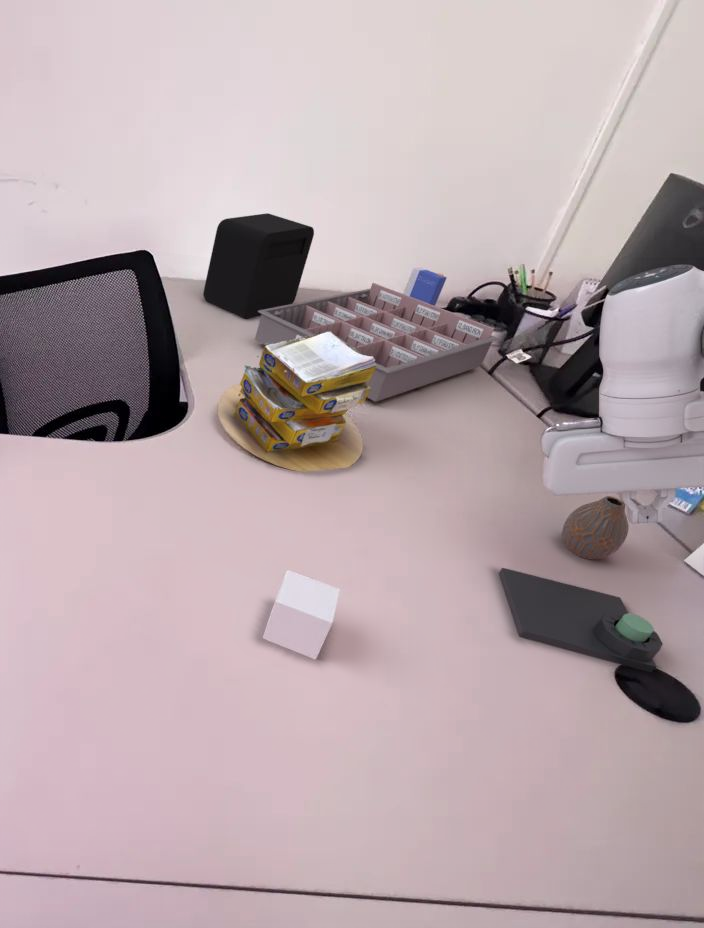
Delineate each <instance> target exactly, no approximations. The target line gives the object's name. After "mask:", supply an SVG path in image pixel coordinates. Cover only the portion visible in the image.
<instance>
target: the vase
mask: <svg viewBox="0 0 704 928" xmlns="http://www.w3.org/2000/svg"><path fill="white" fill-rule="evenodd" d="M629 527H630V526H629V520H628V517H627V514H626V505H625V504H624V502H623V501H622V500H621V499H620V498H619V497H618V498H617V497H615V496H611V495H606V496H604V497H602V498H600V499H599V500H595V501H592V502H588V503H585V504H582V505H581V506H579V507H577V508H576V509H574V510H573V511H572V512H570V514H569V515H568V517H567V518H566V519H565V520H564V523H563V525H562V529H561V539H562V542H563V545H564V546H565V548H566V549H567V550H568V551H569V552H571V553H572V554H574V556H575V555H576V556H578V557H579V558H582V559H586V560H601V559H604V558H607V557H609V556H611V555H613V554H614V553H616V552H617V551H618V550H619V549H620V548H622V545H624V543H625V542H626V539H627V537H628V533H629Z"/></svg>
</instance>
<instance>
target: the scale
mask: <svg viewBox="0 0 704 928" xmlns="http://www.w3.org/2000/svg"><path fill="white" fill-rule="evenodd" d="M498 576H499V579H500V582H501V586H502V589H503V591H504V594H505V598H506V601H507V604H508V607H509V610H510V613H511V616H512V619H513V622H514V625H515V628H516V631H517V634H518V637H519V638H521V639H526V640H529V641H532V642H537V643H541V644H544V645H548V646H552V647H554V648H558V649H563V650H566V651H570V652H573V653H577V654H580V655H585V656H588V657H591V658H595V659H599V660H604V661H606V662H609V663H614V664H617V665H620V666H621V665H622V666H625V667H629V668H632V669H636V670H640V671H642V672H643V671H644V672H647V673H650V674H651V673H653V672H654V671H655V670H656V669H657V665H656V663H655V660H654V657H656V655H657V654H658V653H659V652H660V651H661V649H662V646H663V645H664V644H663V641H662V639H661V638H660V636H659V634H658V633H657V632H656V631H655V630H654V631H653V632H652V634H651V635H650V636H649V637H648V638H647V639H646V641H645V642H643V643H639V642H635V641H632V640H630V639H629V638H627V637H625V636H623V635H622V634H621V633H620V632H618V631H617V630H616V628H615V626H616V624H617V623H618V622H619V621H620V619H621V618H622V617H623V616H624V615H625V614H630V613H629V612H628V610H627V607H626V606H625V604H624V602H623V600H622V598H621V597H619V596H616V595H612V594H609V593H604V592H600V591H596V590H592V589H588V588H584V587H580V586H577V585H572V584H569V583H565V582H561V581H558V580H553V579H548V578H546V577H545V578H544V577H542V576H538V575H533V574H528V573H525V572H521V571H517V570H513V569H509V568H505V567H501V568H500V571H499V572H498Z"/></svg>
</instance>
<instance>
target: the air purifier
mask: <svg viewBox="0 0 704 928" xmlns="http://www.w3.org/2000/svg"><path fill="white" fill-rule="evenodd" d="M215 231H216V232H215V236H214V240H213V245H212V250H211V255H210V259H209V264H208V269H207V274H206V278H205V283H204V288H203V293H202V296H203V298H204V300H205V301H206V302H207V303H210V304H212V305H214V306H216V307H218V308H221V309H223V310H225V311H228V312H230V313H232V314H235V315H237V316H239V317H241V318H243V319H246V320H249V319H253V318H257V317H261V315H262V314H261V313H259V312H258V311H259V310H264V309H269V308H274V307H279V306H284V305H289V304H294V303H295V301H296V298H297V295H298V292H299V291H298V290H299V287H300V283H301V281H302V276H303V274H304V270H305V267H306V263H307V260H308V256H309V253H310V250H311V247H312V243H313V240H314V236H315V229H314V228H313V227H312V226H310V225H307V224H303V223H301V222H297V221H294V220H291V219H288V218H286V217H285V218H284V217H281V216H278V215H275V214H272V213H260V214H252V215H245V216H244V215H243V216H237V217H229V218H228V217H227V218H224V219H222V220H221V221H220V222H219V223H218V225H217V227H216V230H215Z"/></svg>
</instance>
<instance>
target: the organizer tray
mask: <svg viewBox="0 0 704 928" xmlns="http://www.w3.org/2000/svg"><path fill="white" fill-rule="evenodd" d="M258 312H259V313H261V314H262V315H261V316H260V319H259V322H258V326H257V330H256V334H255V337H254V341H255V342H258V343H259V344H262V345H263V346H264V347H265V346H267V345H270V344H276V343H279V342H282V341H285V340H287V342H288V341H290V340H293V339H295V338H296V339H298V338H297V337H299V338H302V337H304V338H303V339H300V340H305V339H307V338H309V337H312V336H313V335H319V334H322V333H325V332H331V333H332V334H334V335H335V336H337V337H338V338H340V339H342V341H344V342H345V343H347V344H348V345H350V346H351V347H353V348H354V349H356V350H357V351H358V352H360V353H361V354H362V355H365V356H371V357H374V359H375V364H376V368H375V371H374V372H373V374H372V376H371V378H370V380H369V381H366V384H367V385H368V386H370V388H371V389H370V392H369V394H368V396H367V397H366V399H369V400H371V401H373V402H375V403H376V402H380V401H382V400H385V399H388V398H391V397H394V396H397V395H400V394H403V393H406V392H408V391H411V390H415V389H416V390H417V388H420V387H423V386H426V385H427V386H428V385H430V384H432V383H435V382H438V381H441V380H444V379H447V378H451V377H453V376H456V375H459V374H462V373H465V372H468V371H471V370H473V369H474V370H475V369H476V368H479V367H481V366H482V365H483V363H484V361H485V358H486V357H487V354H488V352H489V350H490V348H491V346H492V344H493V342H496V341H498V340H499V338H498V337H497V336H494V335H493V332H494V331H495V328H494V327H491V326H489V325H485V324H483V323H481V322H478V321H476V320H473V319H470V318H467V317H466V316H462V315H460V314H457V313H454V312H452V311H449V310H447V309H444V308H441V307H438V306H436V305H435V306H434V305H431V304H428V303H426V302H423V301H420V300H418V299H415V298H412V297H410V296H407V295H404V294H403V293H401V292H399V291H396V290H394V289H391V288H388V287H386V286H383V285H380V284H378V283H375V282H372V283H371V286H370V288H365V289H361V290H356V291H351V292H345V293H342V294H341V293H340V294H336V295H329V296H325V297H320V298H316V299H315V298H314V299H311V300H305V301H300V302H299V301H298V302H294V303H293V304H289V305H284V306H279V307H274V308H269V309H264V310H259V311H258ZM309 335H311V336H309ZM305 336H307V337H305ZM296 339H295V340H296ZM266 343H268V344H266Z"/></svg>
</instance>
